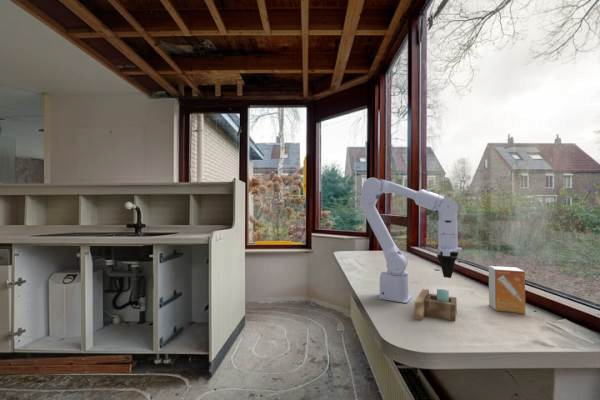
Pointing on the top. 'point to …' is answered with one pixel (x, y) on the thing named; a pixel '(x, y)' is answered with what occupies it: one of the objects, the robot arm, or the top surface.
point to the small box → (507, 289)
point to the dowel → (443, 295)
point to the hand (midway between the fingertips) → (448, 275)
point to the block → (440, 307)
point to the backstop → (420, 304)
